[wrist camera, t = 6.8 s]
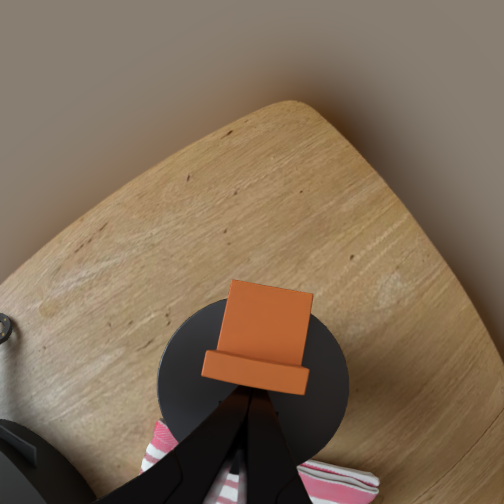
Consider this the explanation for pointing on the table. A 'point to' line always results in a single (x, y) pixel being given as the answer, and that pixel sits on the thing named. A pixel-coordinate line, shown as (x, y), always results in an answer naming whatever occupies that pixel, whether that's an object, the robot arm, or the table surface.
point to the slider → (262, 339)
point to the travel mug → (215, 391)
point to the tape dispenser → (36, 471)
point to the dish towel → (312, 474)
